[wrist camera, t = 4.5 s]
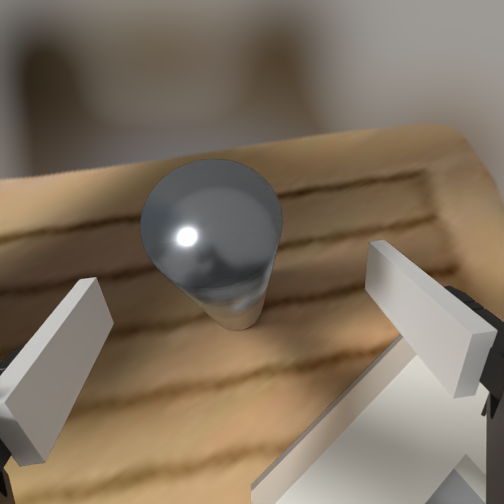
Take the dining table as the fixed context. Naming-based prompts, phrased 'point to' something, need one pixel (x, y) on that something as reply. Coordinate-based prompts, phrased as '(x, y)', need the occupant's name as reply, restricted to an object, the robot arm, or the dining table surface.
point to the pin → (215, 237)
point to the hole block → (386, 443)
